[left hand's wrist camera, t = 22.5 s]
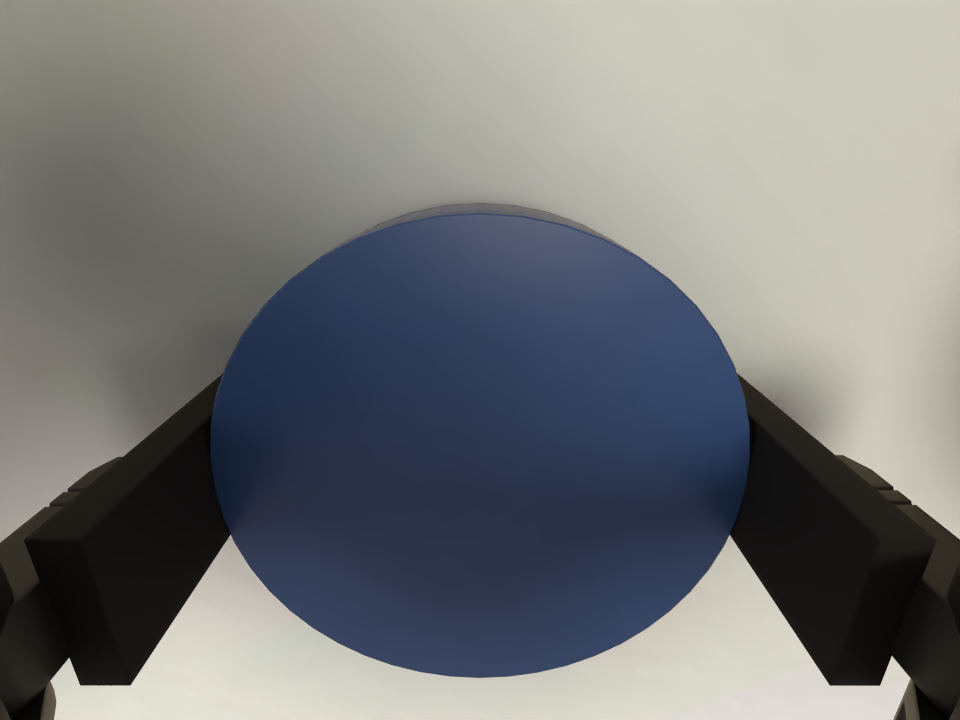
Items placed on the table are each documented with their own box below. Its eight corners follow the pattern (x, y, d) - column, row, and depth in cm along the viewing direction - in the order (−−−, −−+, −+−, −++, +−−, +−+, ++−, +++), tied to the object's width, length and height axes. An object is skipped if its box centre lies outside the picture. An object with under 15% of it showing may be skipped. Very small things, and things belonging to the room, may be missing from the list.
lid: (207, 535, 13) (162, 598, 11) (327, 111, 10) (290, 100, 8) (580, 653, 15) (595, 726, 13) (802, 321, 11) (867, 354, 9)
